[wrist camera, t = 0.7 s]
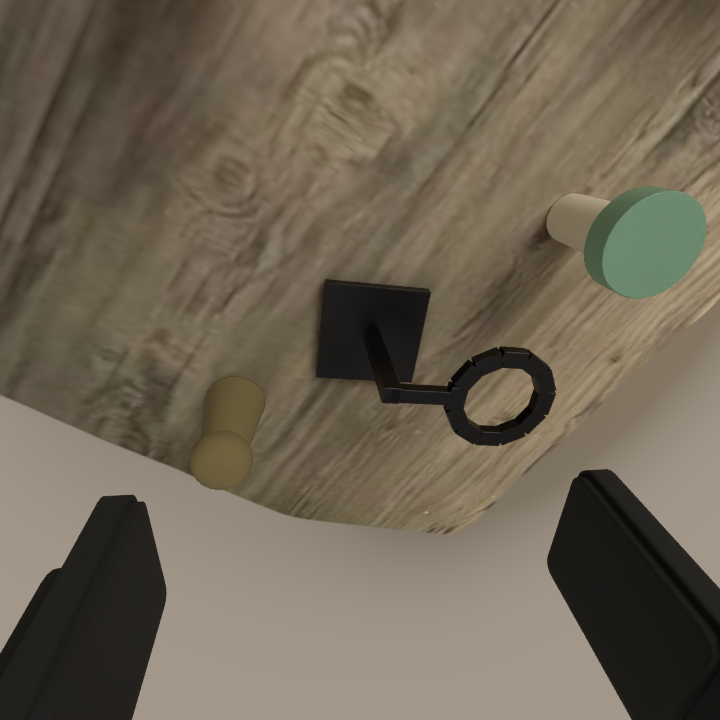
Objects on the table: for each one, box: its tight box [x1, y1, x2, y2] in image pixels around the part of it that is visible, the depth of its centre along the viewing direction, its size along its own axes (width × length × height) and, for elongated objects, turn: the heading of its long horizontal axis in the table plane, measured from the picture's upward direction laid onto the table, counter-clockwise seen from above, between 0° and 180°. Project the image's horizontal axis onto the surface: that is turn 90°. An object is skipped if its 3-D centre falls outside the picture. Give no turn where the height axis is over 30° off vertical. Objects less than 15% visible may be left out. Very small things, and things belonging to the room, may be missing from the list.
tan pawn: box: [190, 377, 265, 490], centre depth 42 cm, size 6×6×11 cm
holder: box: [316, 279, 556, 446], centre depth 40 cm, size 10×18×12 cm, turn 83°
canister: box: [547, 186, 707, 298], centre depth 37 cm, size 8×8×11 cm
